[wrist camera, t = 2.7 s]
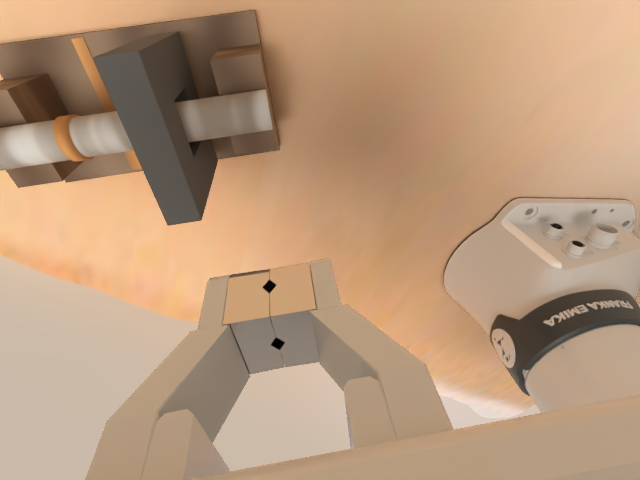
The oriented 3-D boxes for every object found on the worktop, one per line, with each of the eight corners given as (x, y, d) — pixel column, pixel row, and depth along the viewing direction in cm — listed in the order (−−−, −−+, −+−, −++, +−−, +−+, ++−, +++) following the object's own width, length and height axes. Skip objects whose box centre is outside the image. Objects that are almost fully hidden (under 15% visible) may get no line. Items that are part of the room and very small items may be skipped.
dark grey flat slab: (178, 31, 22) (138, 51, 15) (217, 160, 28) (201, 220, 21) (148, 35, 22) (92, 57, 15) (193, 163, 28) (167, 225, 21)
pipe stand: (254, 9, 24) (250, 17, 18) (279, 145, 30) (283, 189, 24) (-7, 45, 24) (-114, 67, 17) (71, 177, 30) (15, 232, 23)
